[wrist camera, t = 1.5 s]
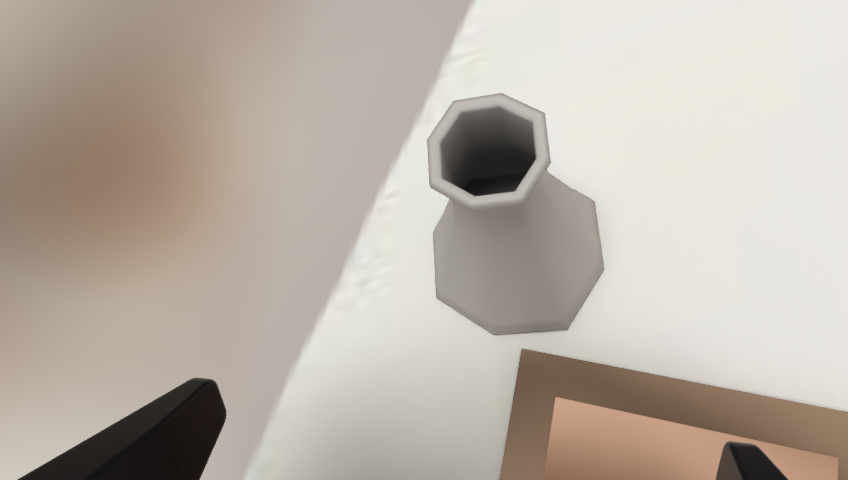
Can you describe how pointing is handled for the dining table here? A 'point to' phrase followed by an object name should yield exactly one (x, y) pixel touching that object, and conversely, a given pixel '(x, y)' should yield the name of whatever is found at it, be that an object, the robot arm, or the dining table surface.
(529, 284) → the flask
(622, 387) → the walnut board
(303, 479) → the dining table surface
